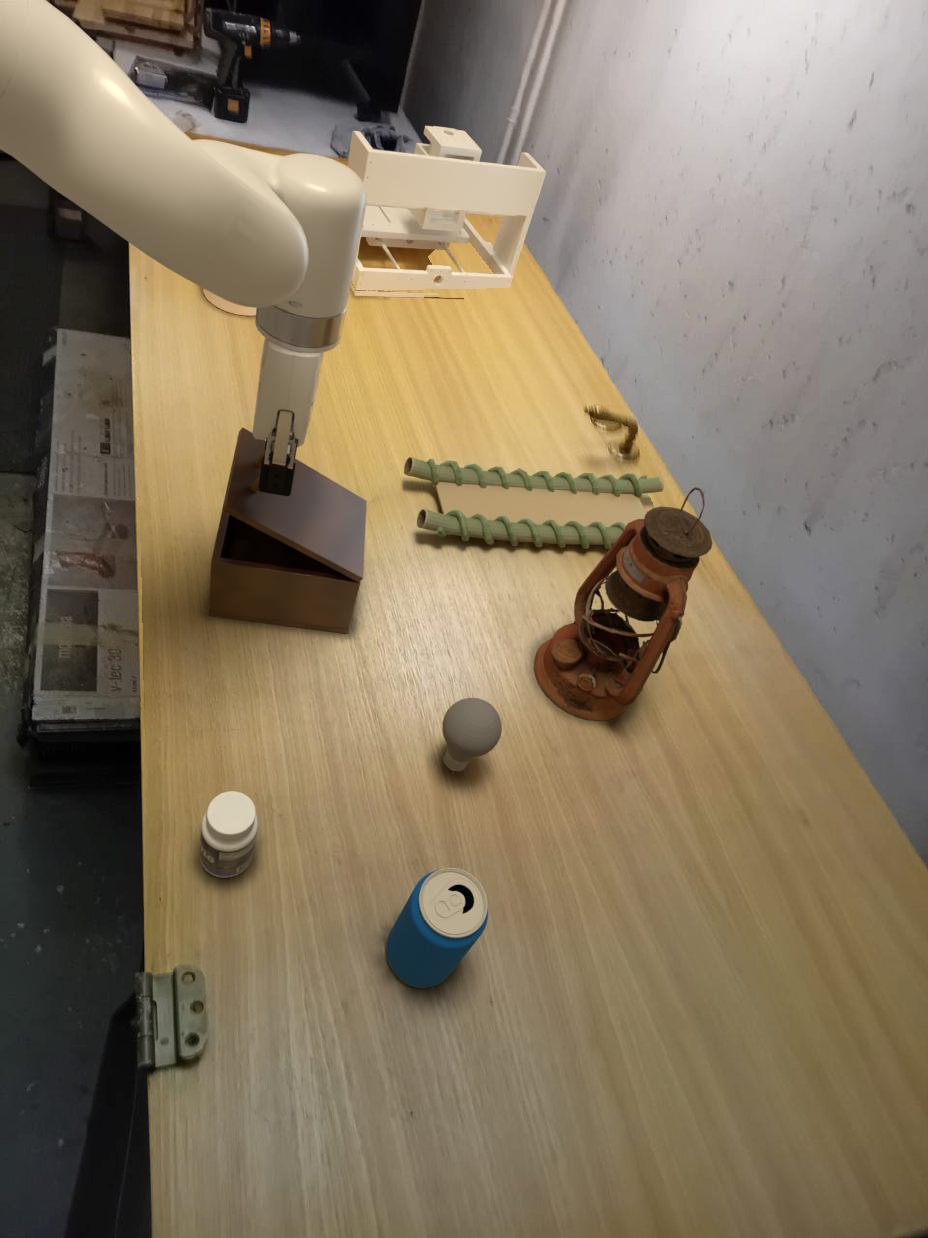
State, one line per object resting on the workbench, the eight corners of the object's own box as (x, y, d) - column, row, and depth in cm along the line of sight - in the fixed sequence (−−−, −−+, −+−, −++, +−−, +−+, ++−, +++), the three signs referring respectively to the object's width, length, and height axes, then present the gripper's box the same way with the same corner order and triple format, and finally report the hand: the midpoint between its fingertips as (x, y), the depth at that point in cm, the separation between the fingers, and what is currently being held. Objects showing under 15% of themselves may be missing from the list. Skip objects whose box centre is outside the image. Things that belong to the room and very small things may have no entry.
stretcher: (415, 549, 107) (424, 522, 103) (398, 476, 115) (405, 448, 112) (681, 559, 120) (697, 535, 117) (647, 492, 129) (661, 468, 125)
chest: (208, 615, 91) (211, 561, 85) (224, 537, 99) (228, 482, 93) (347, 634, 95) (360, 583, 88) (352, 556, 103) (364, 505, 97)
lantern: (515, 624, 103) (609, 434, 81) (605, 620, 108) (715, 440, 86) (559, 740, 93) (678, 558, 71) (655, 730, 98) (795, 557, 76)
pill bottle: (194, 836, 75) (196, 792, 69) (246, 825, 77) (253, 781, 71) (204, 885, 72) (207, 844, 66) (258, 871, 74) (266, 830, 68)
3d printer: (455, 218, 176) (483, 87, 157) (519, 300, 159) (558, 165, 140) (296, 213, 161) (306, 69, 142) (348, 303, 145) (366, 153, 126)
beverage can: (468, 966, 74) (508, 917, 65) (408, 1005, 70) (442, 958, 62) (430, 904, 77) (464, 849, 68) (371, 938, 73) (398, 885, 64)
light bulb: (488, 783, 87) (517, 733, 80) (435, 791, 85) (460, 740, 77) (472, 735, 90) (498, 683, 83) (420, 741, 88) (443, 688, 81)
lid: (221, 510, 80) (257, 469, 76) (238, 431, 88) (271, 390, 84) (358, 582, 88) (396, 548, 85) (362, 504, 96) (397, 470, 93)
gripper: (266, 257, 76) (249, 417, 89) (245, 357, 65) (228, 523, 78) (347, 277, 78) (318, 430, 91) (339, 378, 67) (308, 536, 80)
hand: (277, 472), depth 84 cm, fingers closed on lid, 5 cm apart
